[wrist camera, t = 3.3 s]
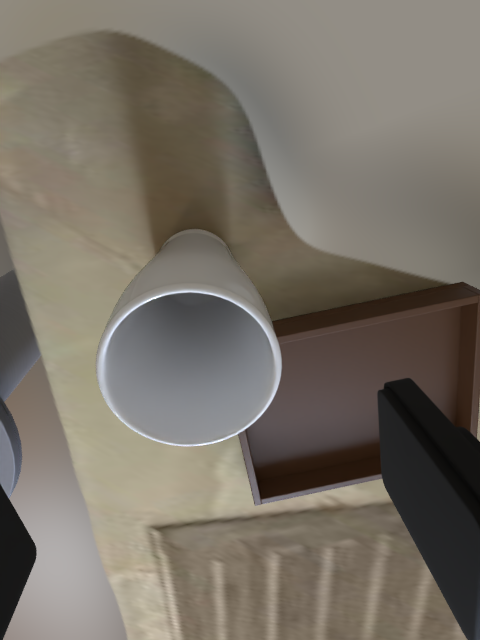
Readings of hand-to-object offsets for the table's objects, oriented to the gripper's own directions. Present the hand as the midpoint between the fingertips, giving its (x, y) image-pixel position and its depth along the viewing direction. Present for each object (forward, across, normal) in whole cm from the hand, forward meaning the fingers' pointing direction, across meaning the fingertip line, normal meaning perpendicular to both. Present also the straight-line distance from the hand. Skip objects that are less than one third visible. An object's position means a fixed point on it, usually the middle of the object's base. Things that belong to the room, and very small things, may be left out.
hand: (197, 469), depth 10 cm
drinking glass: (+20, 0, 0) cm, 20 cm away
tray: (+20, -10, +13) cm, 26 cm away
